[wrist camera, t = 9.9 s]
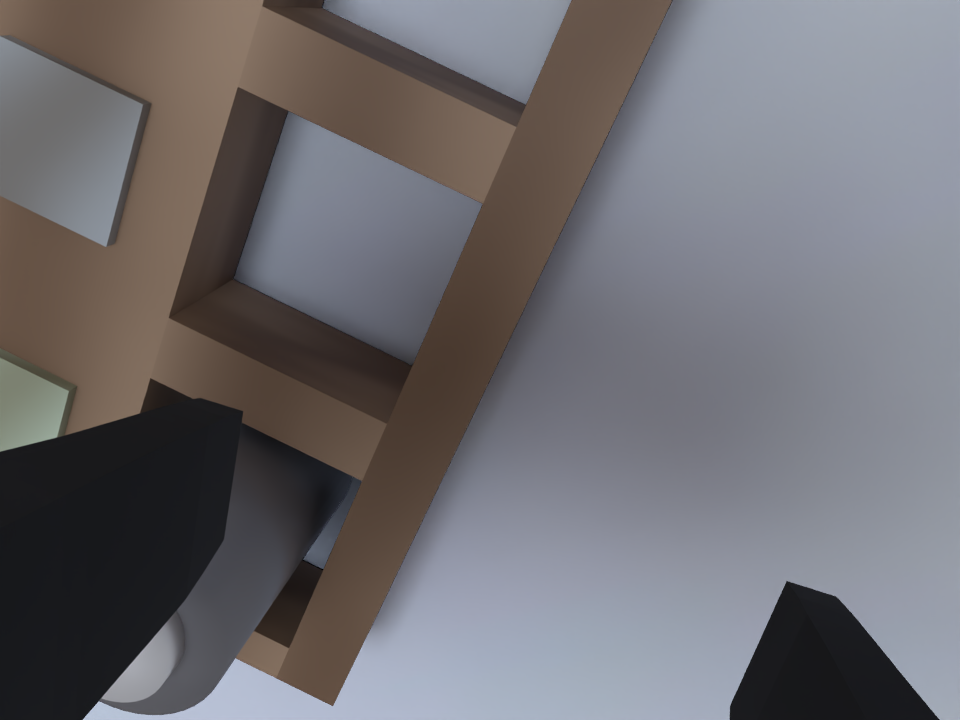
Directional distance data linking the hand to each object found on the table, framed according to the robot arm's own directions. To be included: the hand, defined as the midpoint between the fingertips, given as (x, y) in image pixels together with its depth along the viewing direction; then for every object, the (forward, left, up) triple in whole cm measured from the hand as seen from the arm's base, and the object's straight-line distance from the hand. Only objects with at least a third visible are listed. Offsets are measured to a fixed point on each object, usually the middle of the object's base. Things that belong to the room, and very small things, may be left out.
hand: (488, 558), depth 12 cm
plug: (+5, +6, -9) cm, 12 cm away
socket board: (+7, 0, -9) cm, 12 cm away
